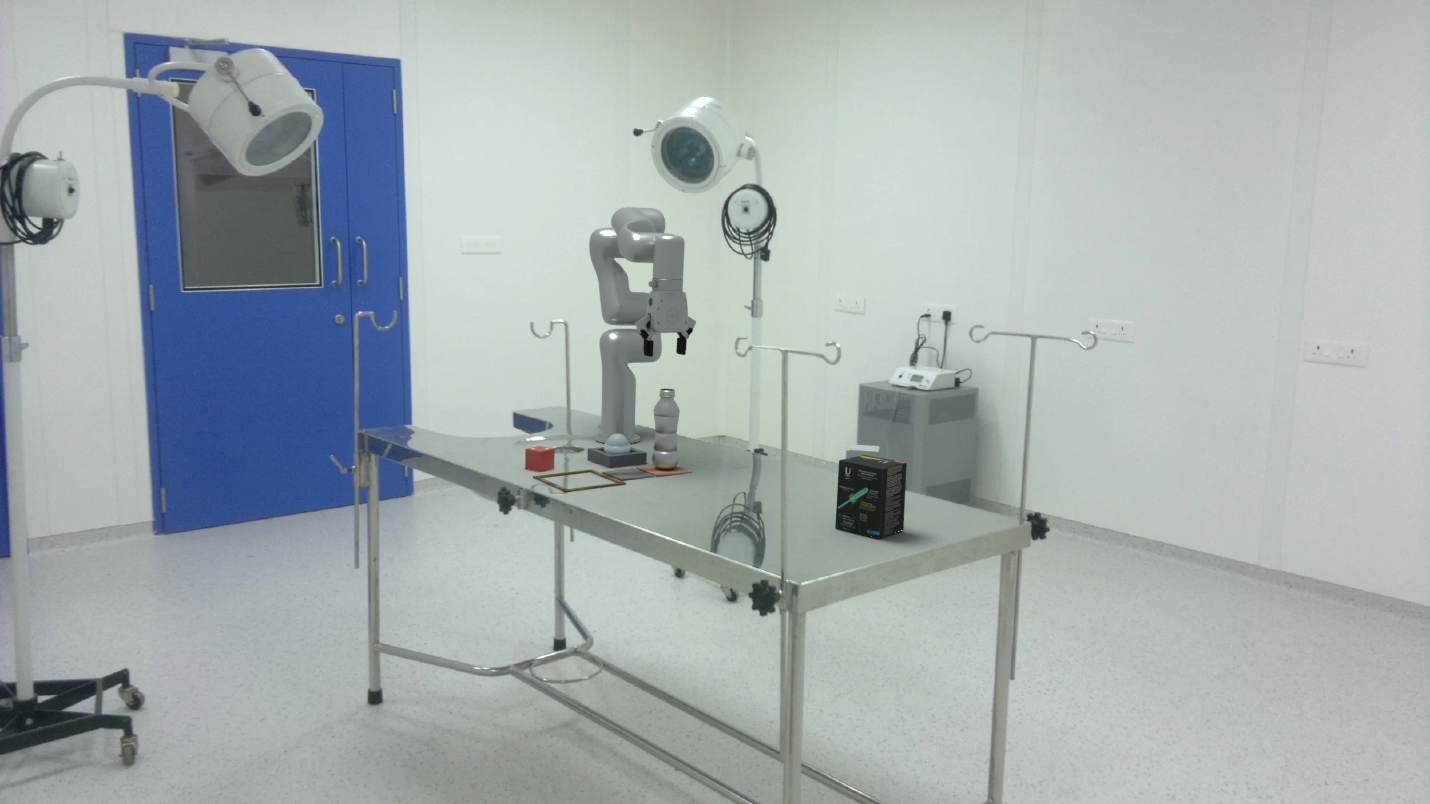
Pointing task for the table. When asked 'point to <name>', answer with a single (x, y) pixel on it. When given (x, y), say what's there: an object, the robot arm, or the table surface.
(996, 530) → the table surface
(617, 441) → the dome
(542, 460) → the red die
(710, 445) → the table surface
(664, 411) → the plastic bottle
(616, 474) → the game track
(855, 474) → the tampon box
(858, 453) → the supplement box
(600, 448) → the grey hollow frame
